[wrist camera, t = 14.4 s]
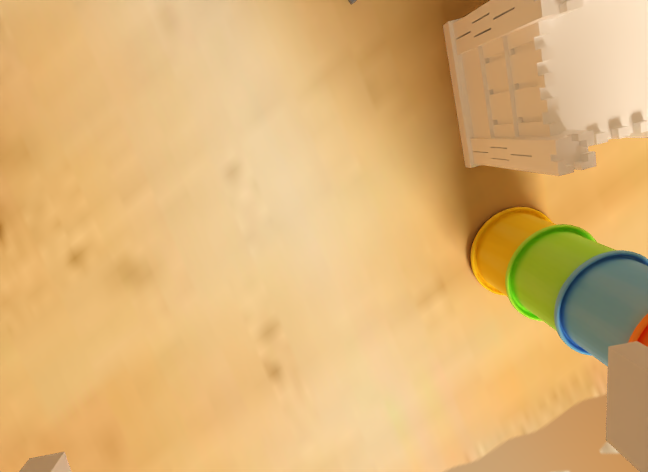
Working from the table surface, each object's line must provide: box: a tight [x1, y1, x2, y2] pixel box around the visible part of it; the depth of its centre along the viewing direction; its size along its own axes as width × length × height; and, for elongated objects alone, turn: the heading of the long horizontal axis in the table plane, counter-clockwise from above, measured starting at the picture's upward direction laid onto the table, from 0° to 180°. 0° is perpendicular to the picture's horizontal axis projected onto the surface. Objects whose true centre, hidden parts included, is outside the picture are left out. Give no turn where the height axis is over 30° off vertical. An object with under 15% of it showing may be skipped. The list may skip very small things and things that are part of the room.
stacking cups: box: [471, 207, 648, 366], centre depth 31 cm, size 10×10×35 cm
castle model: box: [443, 0, 648, 176], centre depth 36 cm, size 14×14×15 cm
